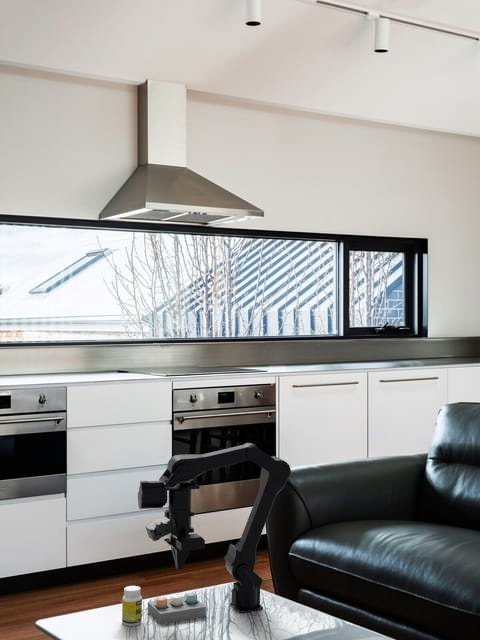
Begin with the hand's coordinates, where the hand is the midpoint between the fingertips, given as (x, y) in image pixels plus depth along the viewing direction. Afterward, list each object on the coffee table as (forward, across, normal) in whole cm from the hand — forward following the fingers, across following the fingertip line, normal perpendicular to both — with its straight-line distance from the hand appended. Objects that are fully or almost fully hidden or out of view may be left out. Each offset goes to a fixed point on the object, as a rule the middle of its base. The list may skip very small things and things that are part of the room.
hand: (179, 569), depth 214 cm
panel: (+11, 0, 0) cm, 11 cm away
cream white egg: (+11, 0, -1) cm, 11 cm away
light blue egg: (+11, 0, +3) cm, 11 cm away
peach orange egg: (+11, 0, -5) cm, 12 cm away
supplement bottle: (+12, +1, -12) cm, 17 cm away
